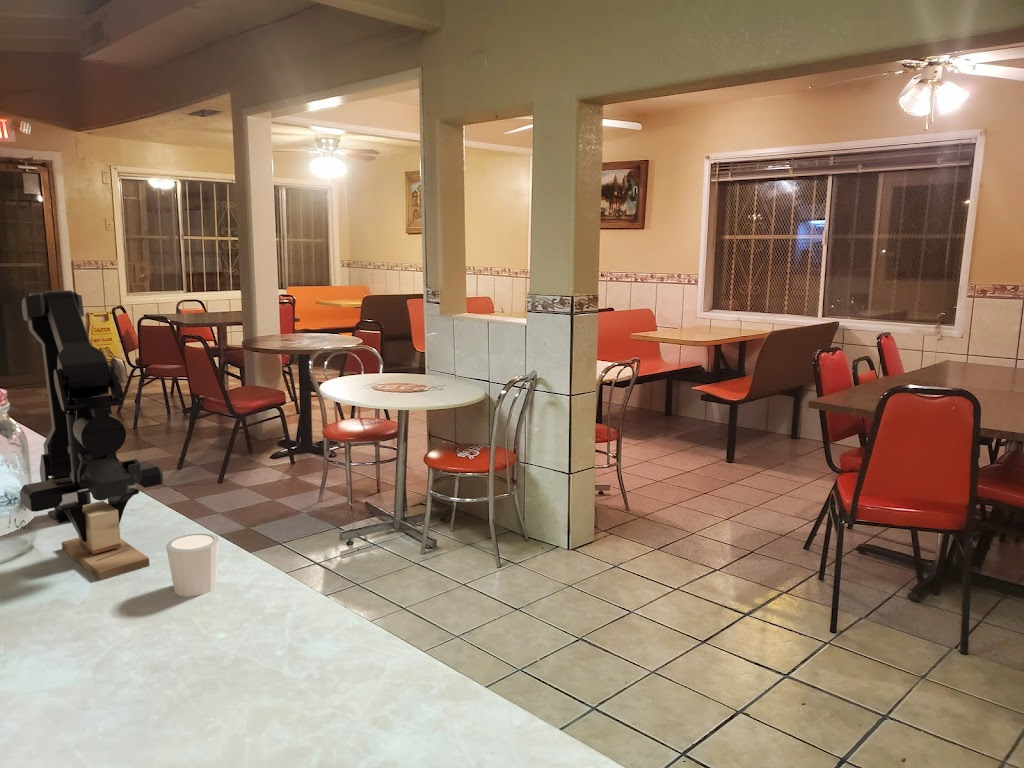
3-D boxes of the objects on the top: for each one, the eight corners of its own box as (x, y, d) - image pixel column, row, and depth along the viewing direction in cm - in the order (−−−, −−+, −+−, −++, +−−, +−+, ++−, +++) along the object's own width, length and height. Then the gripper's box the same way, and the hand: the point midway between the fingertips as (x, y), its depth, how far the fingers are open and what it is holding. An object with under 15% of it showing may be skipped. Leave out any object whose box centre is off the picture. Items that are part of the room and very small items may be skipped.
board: (62, 548, 119) (61, 541, 119) (109, 536, 124) (108, 529, 124) (100, 580, 109) (99, 572, 109) (149, 565, 114) (149, 558, 114)
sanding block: (79, 543, 118) (75, 506, 117) (106, 536, 121) (103, 500, 120) (93, 554, 114) (89, 516, 113) (121, 546, 117) (118, 510, 116)
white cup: (209, 599, 104) (206, 551, 102) (160, 598, 104) (156, 550, 103) (228, 577, 110) (226, 532, 109) (182, 576, 111) (179, 531, 109)
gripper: (38, 464, 102) (49, 571, 105) (175, 439, 116) (181, 534, 119) (13, 448, 110) (24, 548, 112) (145, 427, 123) (151, 517, 126)
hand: (99, 537), depth 117 cm, fingers closed on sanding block, 4 cm apart
